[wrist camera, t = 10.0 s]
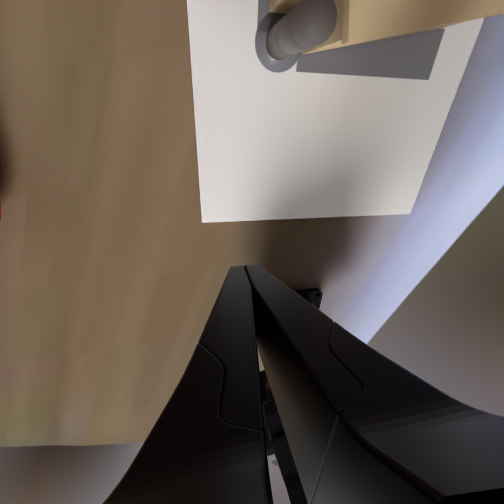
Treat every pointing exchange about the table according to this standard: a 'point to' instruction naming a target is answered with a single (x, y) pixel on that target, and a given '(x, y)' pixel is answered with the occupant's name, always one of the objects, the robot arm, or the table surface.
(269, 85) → the mat
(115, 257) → the table surface
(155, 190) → the table surface
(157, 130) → the table surface
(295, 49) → the fence fixed
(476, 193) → the table surface
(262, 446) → the robot arm
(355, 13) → the fence fold
